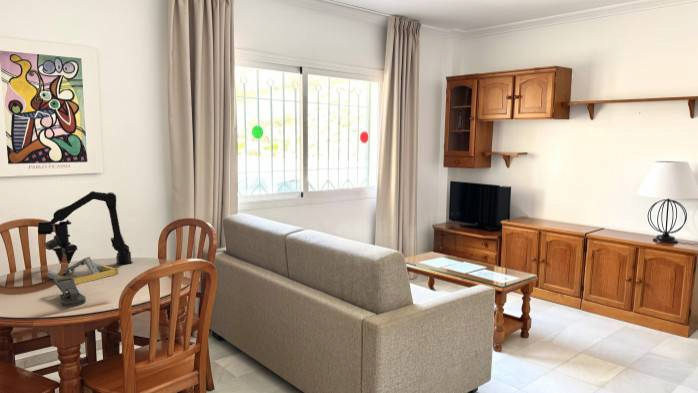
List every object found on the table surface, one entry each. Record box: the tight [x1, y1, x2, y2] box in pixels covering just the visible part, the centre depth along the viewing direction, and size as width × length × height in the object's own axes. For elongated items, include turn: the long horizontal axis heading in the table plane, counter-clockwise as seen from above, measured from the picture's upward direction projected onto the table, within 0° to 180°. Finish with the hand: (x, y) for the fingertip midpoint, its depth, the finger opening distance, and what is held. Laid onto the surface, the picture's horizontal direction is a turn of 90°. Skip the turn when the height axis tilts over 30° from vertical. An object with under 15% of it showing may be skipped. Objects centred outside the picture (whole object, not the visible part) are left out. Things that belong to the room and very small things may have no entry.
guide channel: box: [46, 261, 119, 285], centre depth 247 cm, size 23×25×2 cm
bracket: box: [57, 256, 100, 275], centre depth 248 cm, size 10×14×10 cm
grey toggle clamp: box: [52, 276, 87, 308], centre depth 211 cm, size 9×7×25 cm
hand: (64, 262), depth 258 cm, fingers open, 9 cm apart
